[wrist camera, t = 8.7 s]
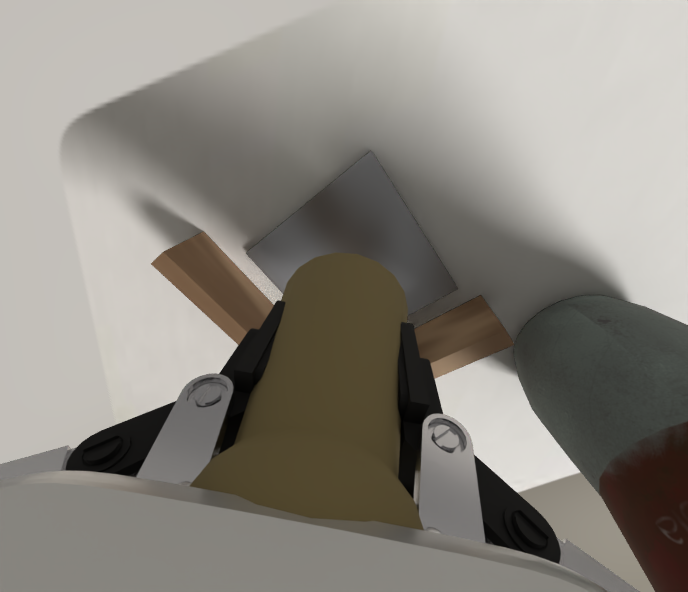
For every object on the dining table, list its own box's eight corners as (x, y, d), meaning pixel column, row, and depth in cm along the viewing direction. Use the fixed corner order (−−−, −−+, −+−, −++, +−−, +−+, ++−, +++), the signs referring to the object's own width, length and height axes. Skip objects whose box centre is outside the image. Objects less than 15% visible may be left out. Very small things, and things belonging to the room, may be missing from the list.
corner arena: (332, 383, 24) (325, 425, 20) (192, 241, 19) (150, 263, 15) (488, 307, 19) (514, 344, 15) (357, 87, 14) (351, 68, 10)
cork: (296, 361, 15) (158, 735, 6) (269, 257, 12) (-106, 654, 3) (408, 358, 14) (475, 797, 5) (407, 246, 11) (568, 774, 2)
